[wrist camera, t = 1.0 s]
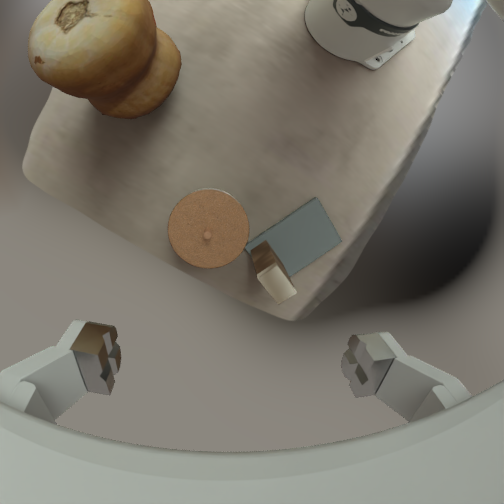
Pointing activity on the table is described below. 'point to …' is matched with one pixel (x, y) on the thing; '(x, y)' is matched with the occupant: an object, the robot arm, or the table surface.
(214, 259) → the lidded jar
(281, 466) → the robot arm
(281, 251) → the slate mat
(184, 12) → the table surface
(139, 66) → the butternut squash
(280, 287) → the brown and white block
